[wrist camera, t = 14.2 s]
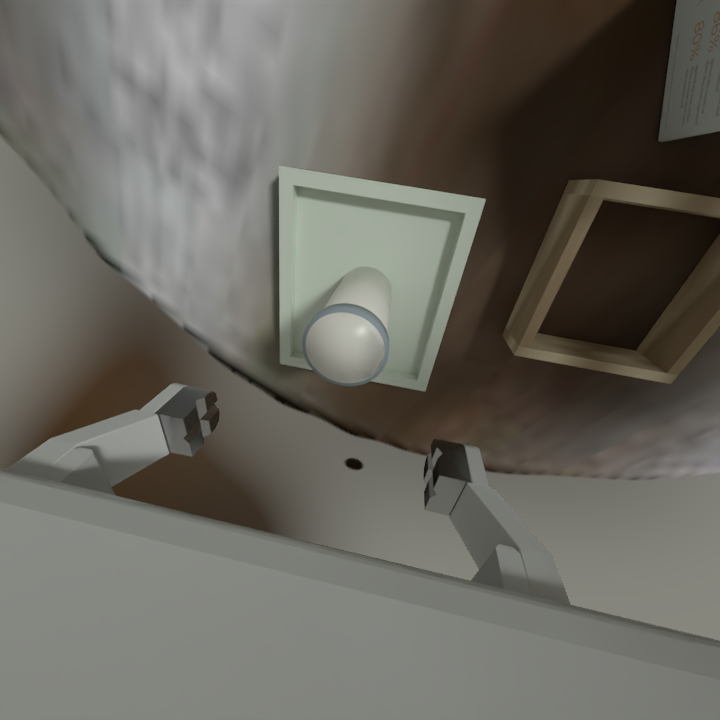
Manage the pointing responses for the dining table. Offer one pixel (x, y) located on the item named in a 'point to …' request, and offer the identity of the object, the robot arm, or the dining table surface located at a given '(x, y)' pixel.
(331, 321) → the canister
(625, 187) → the open wooden frame
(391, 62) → the dining table surface
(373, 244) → the tray
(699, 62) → the small box
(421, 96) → the dining table surface
